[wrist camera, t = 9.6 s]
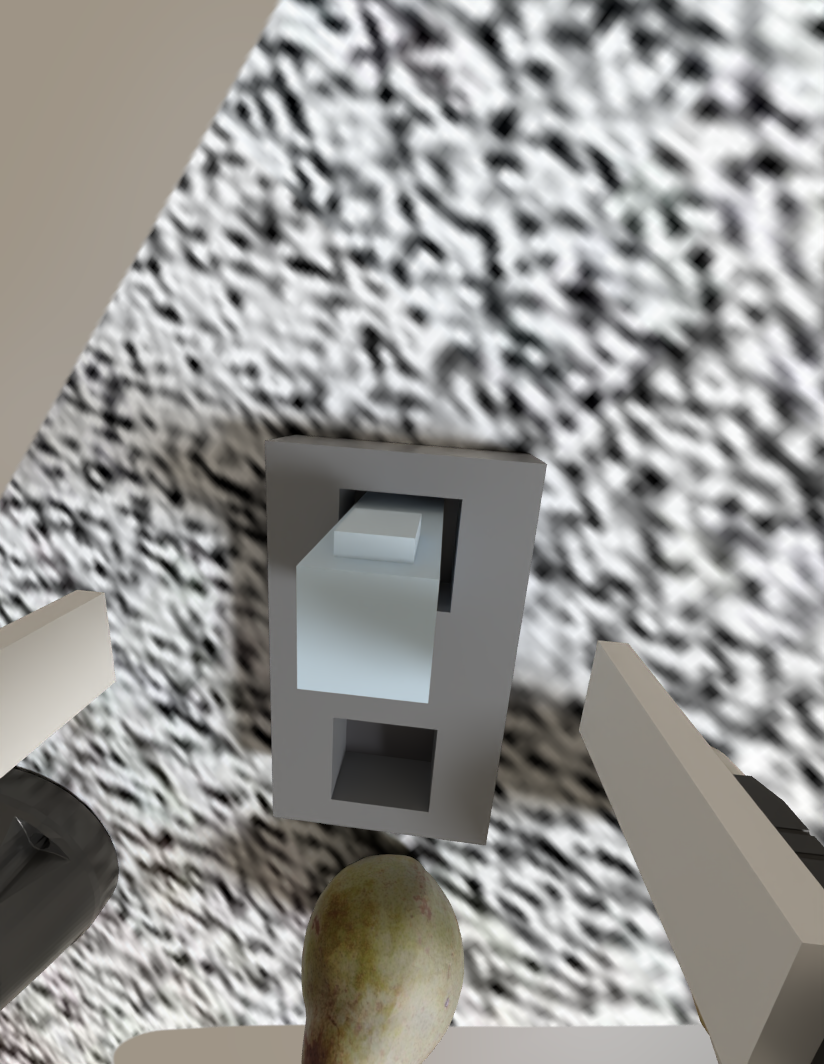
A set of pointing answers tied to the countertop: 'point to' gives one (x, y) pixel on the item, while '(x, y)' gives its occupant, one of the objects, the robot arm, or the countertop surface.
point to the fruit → (380, 965)
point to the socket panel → (458, 653)
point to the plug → (372, 600)
